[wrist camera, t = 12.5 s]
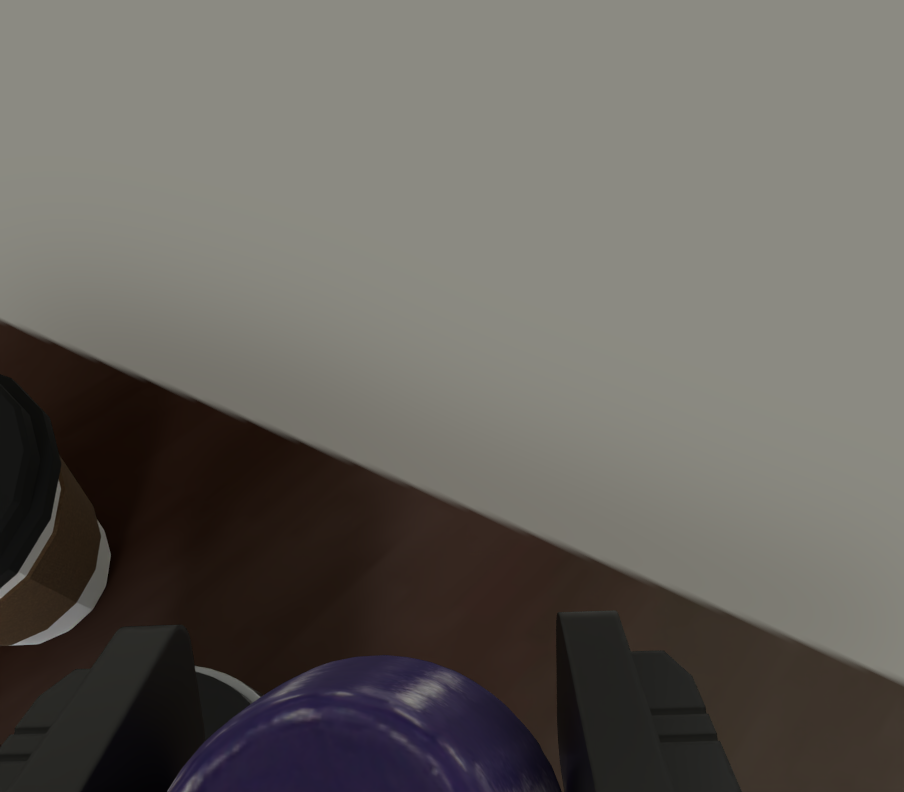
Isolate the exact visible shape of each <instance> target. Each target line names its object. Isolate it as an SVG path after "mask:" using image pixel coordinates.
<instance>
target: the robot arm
mask: <svg viewBox="0 0 904 792" xmlns="http://www.w3.org/2000/svg"><path fill="white" fill-rule="evenodd" d="M556 655H557V728H558V744H559V756H560V765H561V773H562V779H563V786H564V792H742V791H741V789H740V787H739V784H738V782H737V780H736V777H735V775H734V773H733V770H732V768H731V766H730V763H729V761H728V759H727V756H726V754H725V752H724V749H723V747H722V745H721V742H720V741H718V740H717V733H716V731H715V728H714V726H713V724H712V721H711V719H710V717H709V714H706V707H705V705H704V703H703V700H702V698H701V696H700V693H699V691H698V689H697V686H696V684H695V682H694V679H693V677H692V676H691V675H690V674H689V673H688V672H687V671H686V670H685V669H684V668H682V667H681V666H680V665H679V664H678V663H677V662H676V661H675V660H674V659H672V658H671V657H670V656H669V655H668V654H667V653H666V652H665V651H635V652H631V651H630V648H629V645H628V642H627V639H626V636H625V633H624V630H623V627H622V624H621V621H620V618H619V615H618V613H617V611H588V612H558V613H557V620H556ZM204 742H205V730H204V722H203V716H202V710H201V703H200V697H199V690H198V684H197V678H196V671H195V665H194V658H193V652H192V646H191V640H190V636H189V633H188V631H187V629H186V628H185V626H183V625H158V626H129V627H122V628H120V629H119V630H118V631H117V632H116V633H115V635H114V636H113V637H112V639H111V640H110V642H109V643H108V645H107V646H106V648H105V649H104V650H103V652H102V653H101V655H100V656H99V658H98V659H97V660H96V662H95V663H94V665H93V666H92V668H91V669H75V670H74V671H72V672H71V673H70V674H68V675H67V676H66V677H64V678H63V679H62V680H60V681H59V682H58V683H56V684H55V685H54V686H52V687H51V688H50V689H48V690H47V691H46V692H44V693H43V694H41V695H40V696H39V697H38V698H37V699H36V701H35V702H34V703H33V705H32V706H31V707H30V709H29V710H28V711H27V713H26V714H25V715H24V717H23V718H22V719H21V721H20V722H19V723H18V725H17V726H16V727H15V733H14V735H9V737H8V738H7V739H6V741H5V742H4V743H3V745H2V746H1V747H0V792H167V791H168V789H169V788H170V786H171V785H172V783H173V781H174V780H175V778H176V777H177V775H178V774H179V772H180V770H181V769H182V768H183V766H184V765H185V764H186V763H187V762H188V760H189V759H190V758H191V757H192V756H193V754H194V753H195V752H196V751H197V750H198V748H199V747H200V746H201V745H202V744H203V743H204Z"/></svg>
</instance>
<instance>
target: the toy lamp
mask: <svg viewBox="0 0 904 792" xmlns="http://www.w3.org/2000/svg"><path fill="white" fill-rule="evenodd" d="M167 792H562V791H561V789H560V786H559V784H558V781H557V779H556V776H555V774H554V771H553V768H552V766H551V764H550V763H549V761H548V759H547V758H546V756H545V755H544V753H543V751H542V749H541V747H540V745H539V743H538V742H537V740H536V739H535V738H534V736H533V735H532V734H531V733H530V731H529V730H528V729H527V728H526V727H525V725H524V724H523V723H522V722H521V721H520V720H519V719H518V718H517V717H516V716H515V715H514V714H513V713H512V711H511V710H510V709H509V708H508V707H507V706H506V705H505V704H503V703H502V702H501V701H500V700H499V699H498V698H496V697H495V696H494V695H493V694H492V693H490V692H489V691H487V690H486V689H484V688H483V687H482V686H480V685H479V684H477V683H476V682H474V681H472V680H471V679H469V678H467V677H465V676H463V675H462V674H460V673H458V672H456V671H454V670H451V669H448V668H445V667H442V666H439V665H437V664H434V663H432V662H428V661H423V660H419V659H414V658H408V657H400V656H389V655H381V656H362V657H353V658H348V659H343V660H338V661H333V662H329V663H327V664H324V665H321V666H318V667H315V668H313V669H311V670H309V671H307V672H304V673H302V674H300V675H298V676H296V677H294V678H292V679H290V680H288V681H286V682H284V683H283V684H281V685H279V686H278V687H276V688H274V689H273V690H271V691H270V692H268V693H267V694H265V695H263V696H262V697H260V698H259V699H257V700H256V701H254V702H253V703H251V704H250V705H249V706H247V707H246V708H245V709H244V710H242V711H241V712H240V713H238V714H237V715H236V716H234V717H233V718H232V719H230V720H229V721H228V722H227V723H226V724H224V725H223V726H222V727H221V728H219V729H218V730H217V731H216V732H215V733H213V734H212V735H211V736H210V737H209V738H208V739H207V740H206V741H205V742H204V743H203V744H202V745H201V746H200V747H199V748H198V750H197V751H196V752H195V753H194V754H193V756H192V757H191V758H190V759H189V760H188V762H187V763H186V764H185V765H184V766H183V768H182V769H181V770H180V772H179V774H178V775H177V777H176V778H175V780H174V781H173V783H172V785H171V786H170V788H169V789H168V791H167Z"/></svg>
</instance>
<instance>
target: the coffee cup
mask: <svg viewBox="0 0 904 792" xmlns="http://www.w3.org/2000/svg"><path fill="white" fill-rule="evenodd" d="M110 558H111V553H110V549H109V546H108V542H107V538H106V535H105V531H104V529H103V528H102V526H101V525H100V523H99V522H98V520H97V518H96V514H95V511H94V507H93V505H92V504H91V502H90V500H89V499H88V497H87V496H86V494H85V493H84V491H83V490H82V488H81V487H80V485H79V484H78V482H77V481H76V479H75V478H74V476H73V475H72V473H71V472H70V470H69V469H68V467H67V466H66V464H65V463H64V461H63V460H62V458H61V456H60V455H59V452H58V448H57V444H56V440H55V436H54V432H53V428H52V424H51V421H50V417H49V416H48V415H47V414H46V413H45V412H44V411H43V410H42V409H41V408H40V407H39V406H38V405H37V404H36V403H35V402H34V401H33V399H32V398H31V397H30V396H29V395H28V394H27V393H26V392H25V391H24V390H23V389H22V388H21V387H20V386H19V385H18V384H17V383H16V382H15V381H14V380H13V379H12V378H9V377H6V376H3V375H1V374H0V646H13V645H33V644H40V643H43V642H45V641H47V640H50V639H52V638H54V637H56V636H59V635H61V634H63V633H65V632H68V631H69V630H71V629H72V628H73V627H74V626H76V625H77V624H78V623H79V622H80V621H81V620H82V619H83V618H84V617H85V616H86V615H88V614H89V613H90V612H91V611H92V610H93V609H94V607H95V605H96V603H97V601H98V600H99V598H100V596H101V594H102V592H103V591H104V589H105V587H106V583H107V577H108V571H109V564H110Z"/></svg>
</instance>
